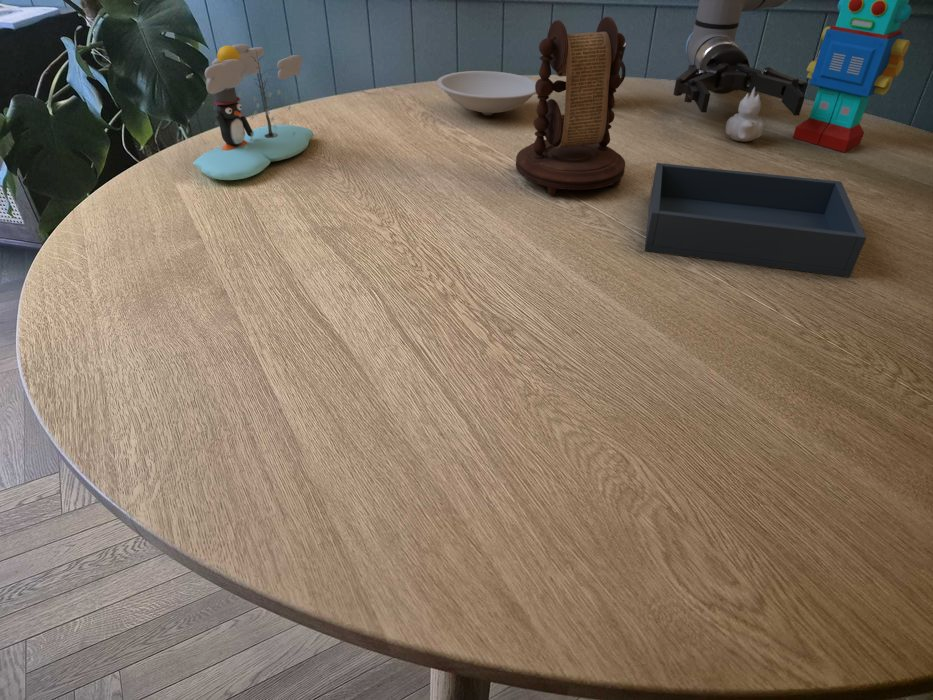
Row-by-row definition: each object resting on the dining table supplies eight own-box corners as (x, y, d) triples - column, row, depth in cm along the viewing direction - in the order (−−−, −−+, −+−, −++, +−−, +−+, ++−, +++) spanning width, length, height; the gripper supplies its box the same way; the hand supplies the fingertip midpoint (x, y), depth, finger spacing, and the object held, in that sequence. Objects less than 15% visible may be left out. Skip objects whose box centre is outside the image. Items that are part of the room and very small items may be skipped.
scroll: (540, 207, 84) (554, 37, 72) (499, 163, 95) (505, 10, 83) (642, 192, 87) (672, 28, 75) (592, 152, 99) (610, 3, 86)
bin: (827, 217, 82) (841, 181, 79) (849, 277, 71) (866, 237, 68) (649, 197, 86) (656, 162, 83) (644, 251, 75) (651, 212, 72)
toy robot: (782, 135, 105) (837, -48, 89) (800, 126, 108) (856, -51, 93) (855, 155, 98) (928, -38, 83) (872, 146, 101) (946, -42, 86)
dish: (422, 119, 110) (420, 88, 107) (458, 95, 120) (458, 66, 117) (521, 135, 104) (522, 102, 101) (550, 108, 114) (552, 78, 111)
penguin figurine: (237, 191, 87) (210, 71, 78) (179, 175, 91) (147, 59, 82) (330, 143, 101) (317, 36, 92) (277, 131, 105) (259, 27, 96)
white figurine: (758, 136, 104) (773, 83, 99) (760, 151, 99) (776, 96, 94) (722, 132, 105) (735, 80, 101) (722, 147, 100) (736, 93, 96)
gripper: (788, 90, 116) (830, 132, 100) (645, 86, 118) (662, 126, 101) (802, 44, 112) (848, 80, 95) (652, 41, 113) (672, 75, 97)
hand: (752, 104), depth 98 cm, fingers open, 13 cm apart
